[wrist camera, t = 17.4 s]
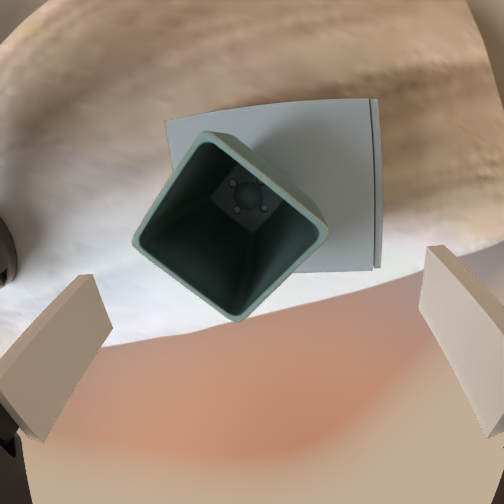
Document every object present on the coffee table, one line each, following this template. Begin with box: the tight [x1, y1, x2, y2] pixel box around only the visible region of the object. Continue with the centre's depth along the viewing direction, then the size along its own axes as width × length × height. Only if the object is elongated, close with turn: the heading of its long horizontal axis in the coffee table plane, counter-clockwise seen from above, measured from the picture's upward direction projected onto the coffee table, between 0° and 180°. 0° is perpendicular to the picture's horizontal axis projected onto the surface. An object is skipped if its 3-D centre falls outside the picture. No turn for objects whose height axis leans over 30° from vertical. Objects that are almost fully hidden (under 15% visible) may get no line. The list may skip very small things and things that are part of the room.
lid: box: [165, 98, 383, 273], centre depth 26 cm, size 17×14×2 cm
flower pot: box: [132, 131, 330, 323], centre depth 22 cm, size 9×9×9 cm
